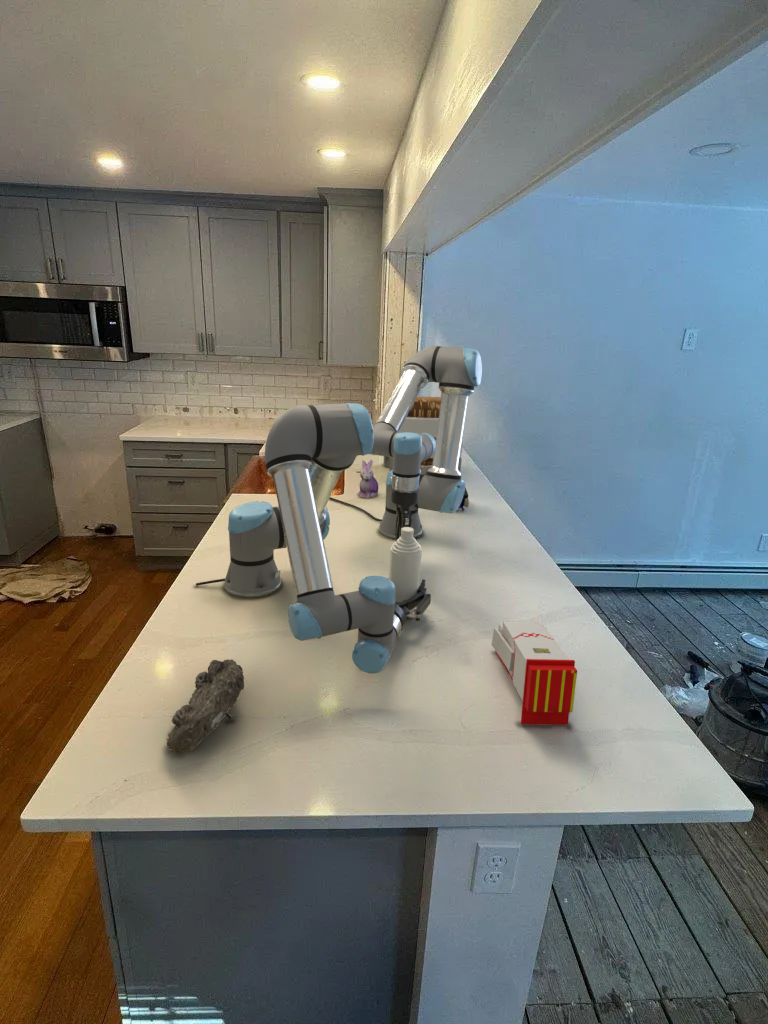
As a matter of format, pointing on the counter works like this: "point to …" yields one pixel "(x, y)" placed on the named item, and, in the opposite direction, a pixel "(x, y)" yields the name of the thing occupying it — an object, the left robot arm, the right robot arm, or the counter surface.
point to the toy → (537, 671)
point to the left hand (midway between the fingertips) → (407, 581)
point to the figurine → (368, 481)
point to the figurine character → (464, 500)
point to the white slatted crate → (423, 424)
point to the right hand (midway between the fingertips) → (400, 565)
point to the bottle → (405, 565)
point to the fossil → (206, 705)
